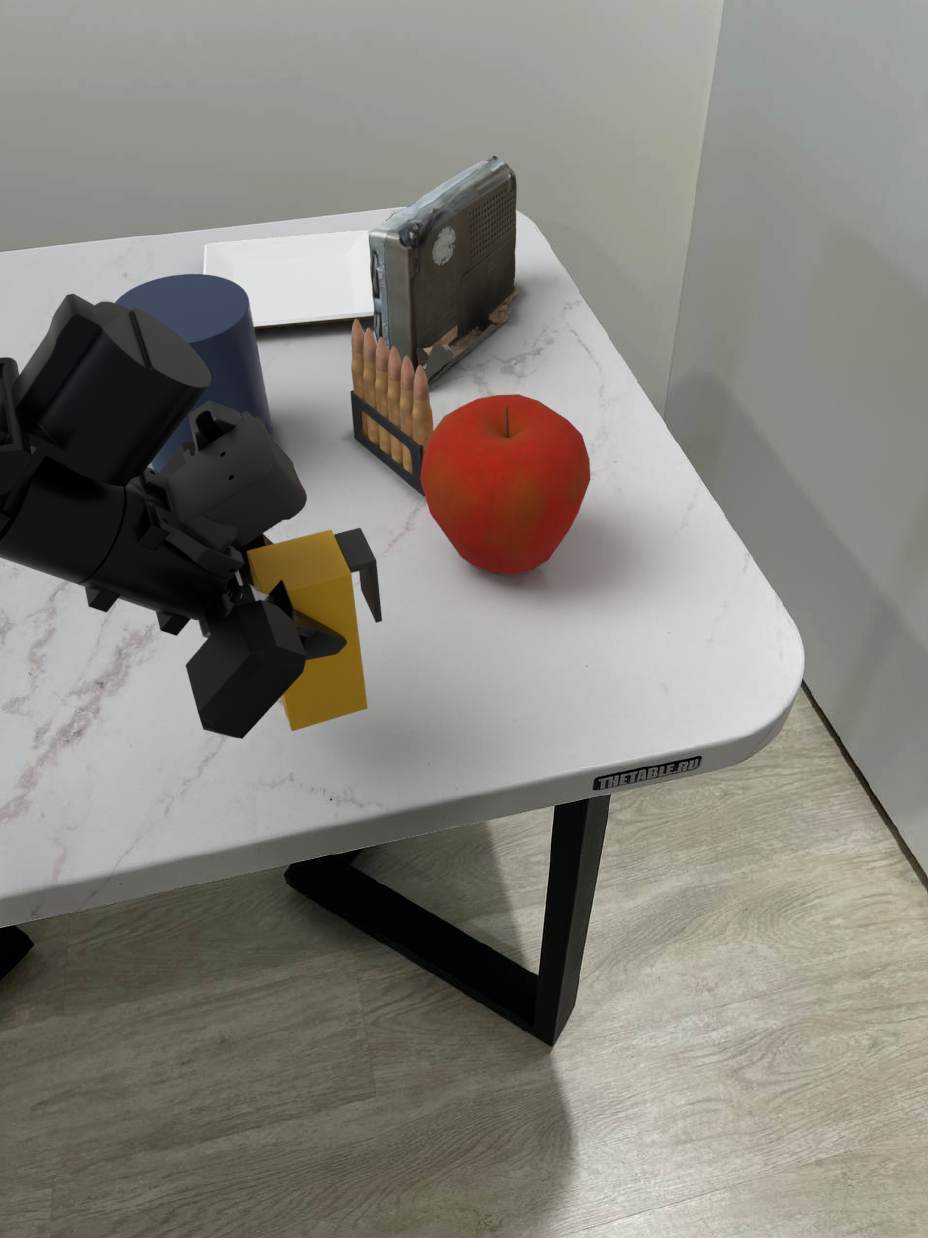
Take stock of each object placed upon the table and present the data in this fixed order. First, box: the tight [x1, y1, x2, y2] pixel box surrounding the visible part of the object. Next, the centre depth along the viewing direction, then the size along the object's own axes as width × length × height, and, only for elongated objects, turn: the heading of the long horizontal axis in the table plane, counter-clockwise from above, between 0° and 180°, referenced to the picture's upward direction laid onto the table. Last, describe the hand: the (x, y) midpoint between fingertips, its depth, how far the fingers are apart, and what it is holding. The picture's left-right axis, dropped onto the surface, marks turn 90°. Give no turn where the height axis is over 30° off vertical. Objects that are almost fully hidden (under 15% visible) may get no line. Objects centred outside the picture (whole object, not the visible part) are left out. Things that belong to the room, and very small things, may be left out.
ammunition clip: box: [349, 319, 434, 496], centre depth 85 cm, size 11×2×12 cm, turn 38°
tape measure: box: [247, 527, 383, 732], centre depth 61 cm, size 7×4×12 cm, turn 111°
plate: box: [202, 229, 374, 330], centre depth 109 cm, size 19×19×2 cm
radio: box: [369, 155, 520, 386], centre depth 99 cm, size 23×9×15 cm, turn 144°
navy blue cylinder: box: [114, 273, 276, 472], centre depth 85 cm, size 14×11×14 cm
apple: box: [420, 393, 592, 575], centre depth 76 cm, size 12×12×14 cm
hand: (331, 621), depth 61 cm, fingers closed on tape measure, 4 cm apart
